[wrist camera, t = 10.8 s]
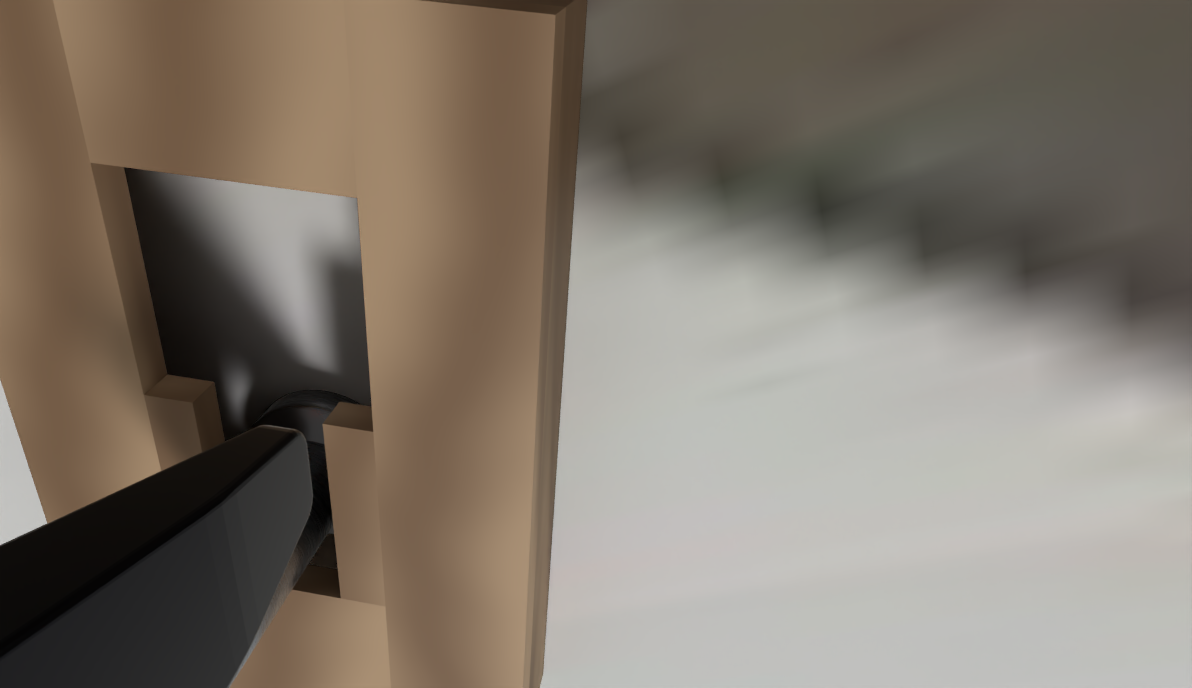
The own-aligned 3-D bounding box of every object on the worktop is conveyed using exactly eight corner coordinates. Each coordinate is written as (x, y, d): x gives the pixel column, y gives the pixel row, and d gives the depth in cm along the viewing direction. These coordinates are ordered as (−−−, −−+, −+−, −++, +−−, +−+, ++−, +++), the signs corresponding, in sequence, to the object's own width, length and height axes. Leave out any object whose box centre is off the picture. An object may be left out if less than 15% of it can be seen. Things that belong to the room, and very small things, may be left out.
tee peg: (400, 403, 25) (210, 692, 16) (406, 523, 27) (242, 833, 18) (250, 379, 25) (-13, 648, 16) (269, 499, 27) (46, 791, 19)
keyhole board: (588, -10, 18) (555, 14, 15) (542, 673, 29) (519, 766, 26) (-7, -72, 20) (-144, -61, 17) (164, 603, 31) (100, 683, 28)
